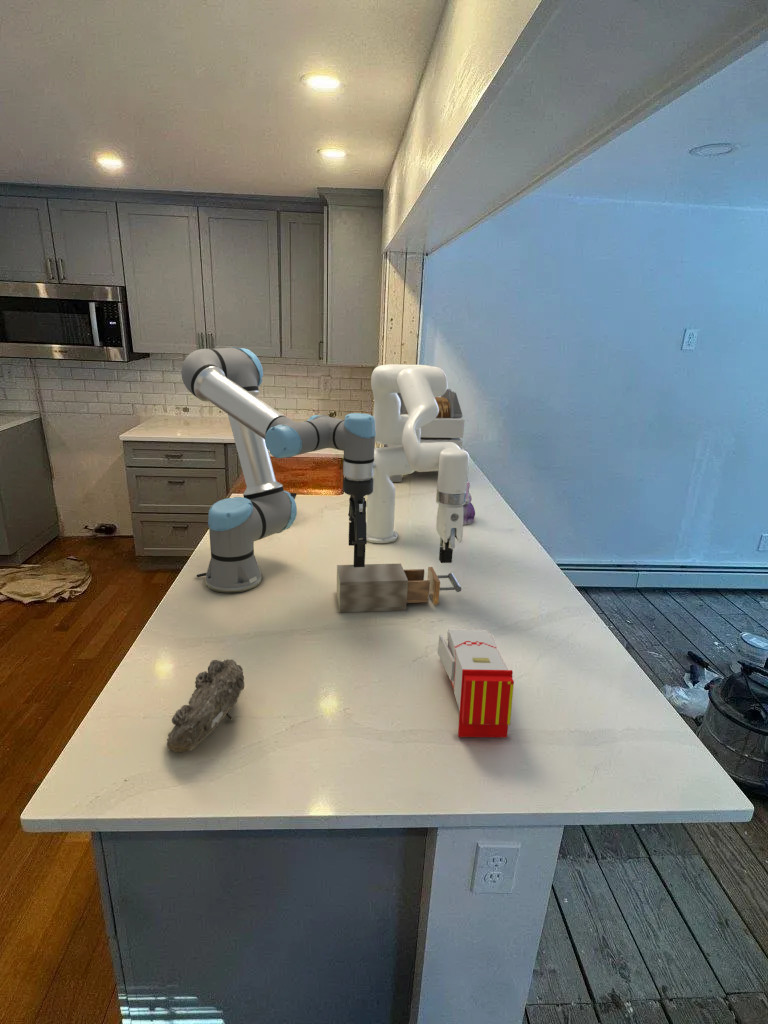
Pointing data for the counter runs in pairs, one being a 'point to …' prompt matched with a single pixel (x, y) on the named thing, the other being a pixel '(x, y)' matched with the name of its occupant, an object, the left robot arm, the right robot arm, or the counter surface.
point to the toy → (478, 682)
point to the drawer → (427, 585)
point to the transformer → (439, 424)
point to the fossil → (206, 705)
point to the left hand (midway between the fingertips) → (356, 555)
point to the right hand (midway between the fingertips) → (445, 561)
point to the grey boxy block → (371, 588)
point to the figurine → (468, 508)
